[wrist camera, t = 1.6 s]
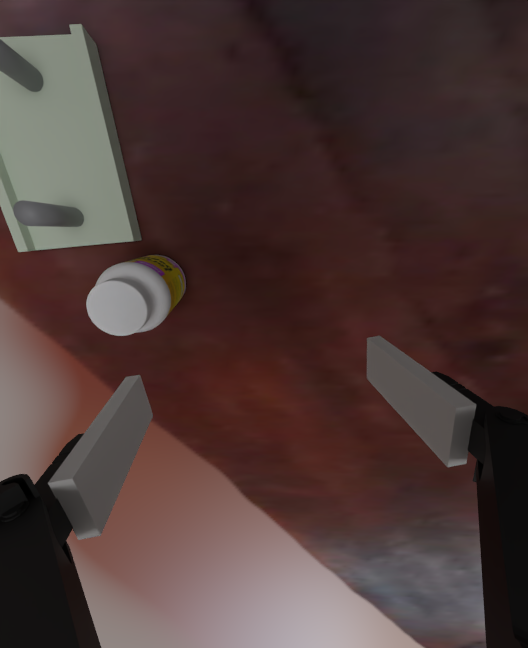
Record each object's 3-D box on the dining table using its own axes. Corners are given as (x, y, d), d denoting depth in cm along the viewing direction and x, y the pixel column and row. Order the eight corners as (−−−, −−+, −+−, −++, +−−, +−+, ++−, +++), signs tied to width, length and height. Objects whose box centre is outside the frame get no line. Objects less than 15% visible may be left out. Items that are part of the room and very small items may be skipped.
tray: (-38, 50, 25) (-167, -35, 17) (96, 44, 26) (33, -40, 18) (36, 250, 31) (-34, 257, 23) (141, 240, 32) (110, 243, 24)
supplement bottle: (189, 259, 33) (164, 276, 21) (184, 310, 35) (158, 352, 23) (132, 249, 32) (71, 260, 20) (130, 302, 34) (73, 341, 22)
